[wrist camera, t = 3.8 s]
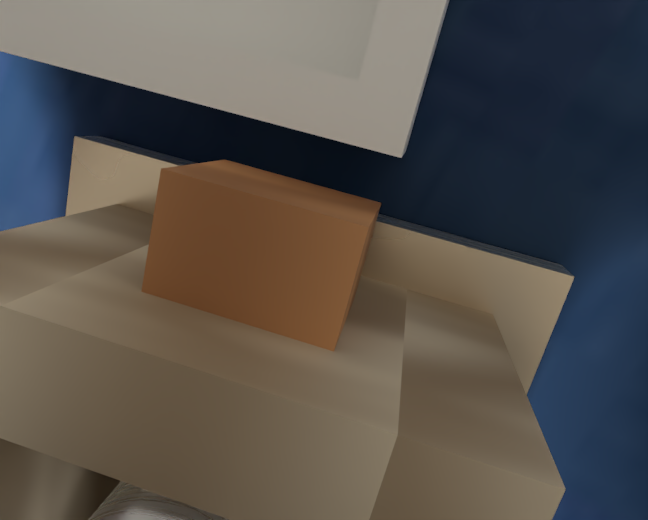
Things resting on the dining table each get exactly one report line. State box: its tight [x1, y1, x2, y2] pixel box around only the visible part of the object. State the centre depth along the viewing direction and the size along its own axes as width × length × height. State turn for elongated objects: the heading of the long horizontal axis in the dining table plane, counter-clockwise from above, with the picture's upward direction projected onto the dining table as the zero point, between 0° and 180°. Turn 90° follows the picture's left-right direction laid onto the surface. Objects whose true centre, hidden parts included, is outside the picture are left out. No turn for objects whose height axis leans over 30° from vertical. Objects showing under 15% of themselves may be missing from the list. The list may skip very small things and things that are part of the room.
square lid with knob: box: [66, 136, 574, 520], centre depth 8 cm, size 9×9×6 cm
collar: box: [0, 160, 566, 520], centre depth 8 cm, size 7×8×4 cm
